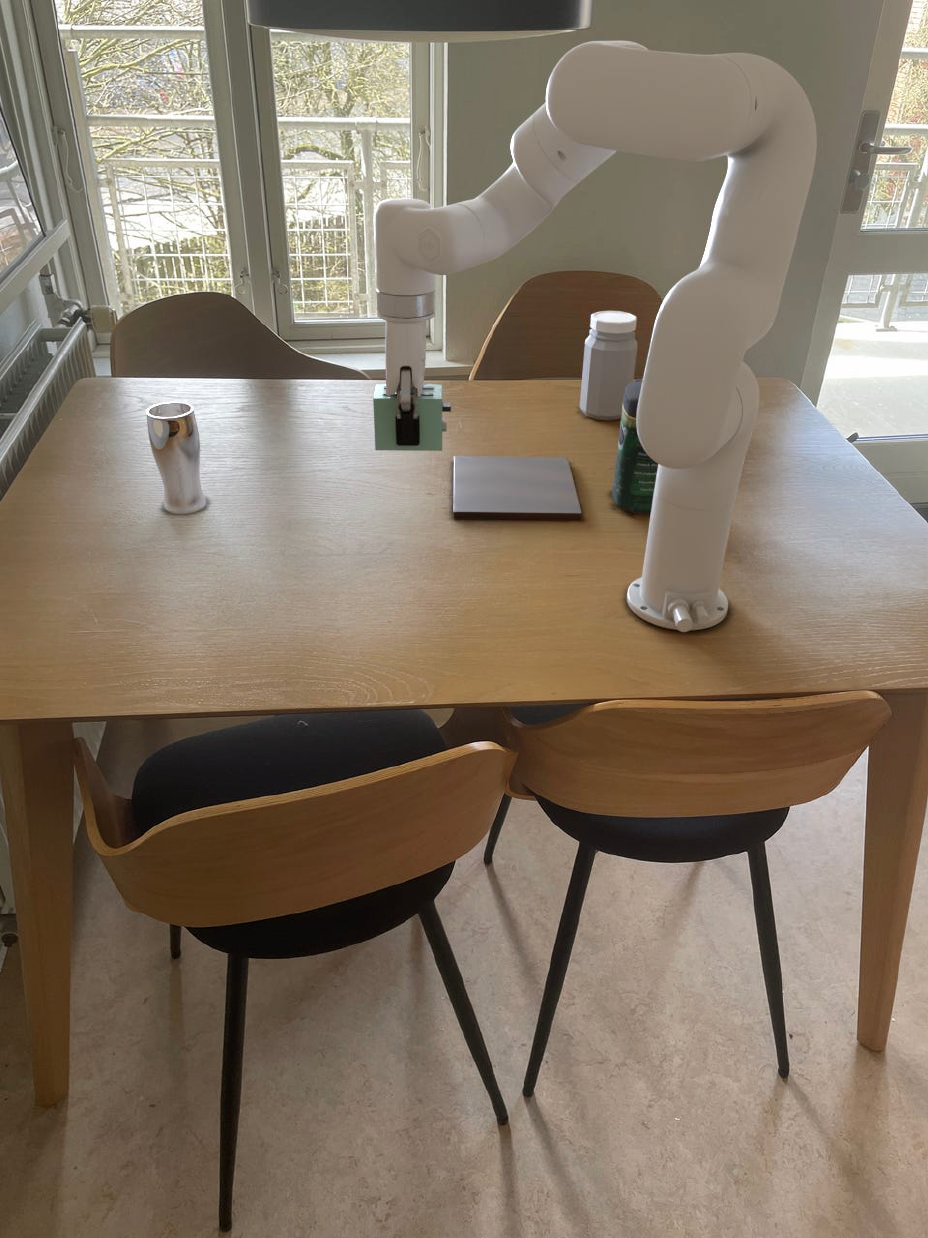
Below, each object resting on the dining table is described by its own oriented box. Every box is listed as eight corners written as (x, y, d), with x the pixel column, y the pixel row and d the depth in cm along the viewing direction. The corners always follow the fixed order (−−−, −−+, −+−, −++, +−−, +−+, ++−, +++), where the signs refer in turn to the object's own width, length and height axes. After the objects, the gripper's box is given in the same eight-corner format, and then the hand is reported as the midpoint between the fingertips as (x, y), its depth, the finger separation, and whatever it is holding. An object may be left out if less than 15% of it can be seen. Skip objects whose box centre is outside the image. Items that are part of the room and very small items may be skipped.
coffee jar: (668, 516, 139) (686, 396, 129) (615, 515, 139) (630, 395, 129) (658, 489, 147) (675, 374, 137) (608, 488, 147) (621, 373, 137)
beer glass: (218, 505, 140) (204, 409, 132) (178, 520, 136) (161, 422, 127) (192, 491, 144) (177, 397, 136) (152, 505, 139) (134, 409, 131)
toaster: (375, 450, 127) (373, 397, 123) (378, 434, 133) (376, 382, 128) (450, 450, 128) (451, 397, 124) (450, 434, 133) (451, 383, 129)
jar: (573, 404, 179) (581, 309, 170) (622, 403, 180) (633, 308, 171) (584, 422, 171) (593, 324, 162) (636, 421, 172) (647, 323, 163)
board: (581, 520, 138) (581, 513, 137) (453, 518, 137) (453, 511, 137) (567, 463, 155) (567, 457, 155) (453, 462, 155) (454, 455, 154)
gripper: (381, 287, 127) (385, 413, 137) (372, 321, 112) (378, 459, 122) (435, 287, 127) (436, 413, 137) (434, 321, 113) (434, 460, 122)
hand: (408, 434), depth 129 cm, fingers closed on toaster, 6 cm apart
